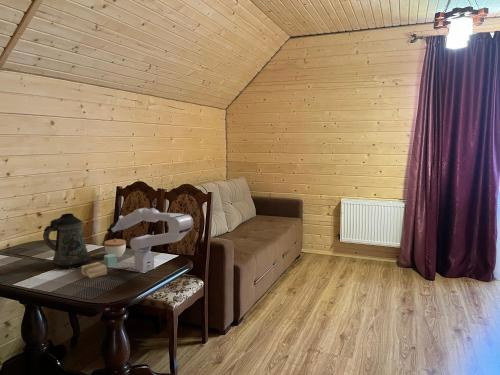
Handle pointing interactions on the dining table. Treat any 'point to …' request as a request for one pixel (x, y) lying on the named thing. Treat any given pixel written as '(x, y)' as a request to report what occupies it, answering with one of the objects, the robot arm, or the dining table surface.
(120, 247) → the lidded jar
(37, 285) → the dining table surface
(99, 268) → the birch base block
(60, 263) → the beer stein
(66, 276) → the dining table surface
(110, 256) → the teal block
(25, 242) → the dining table surface
